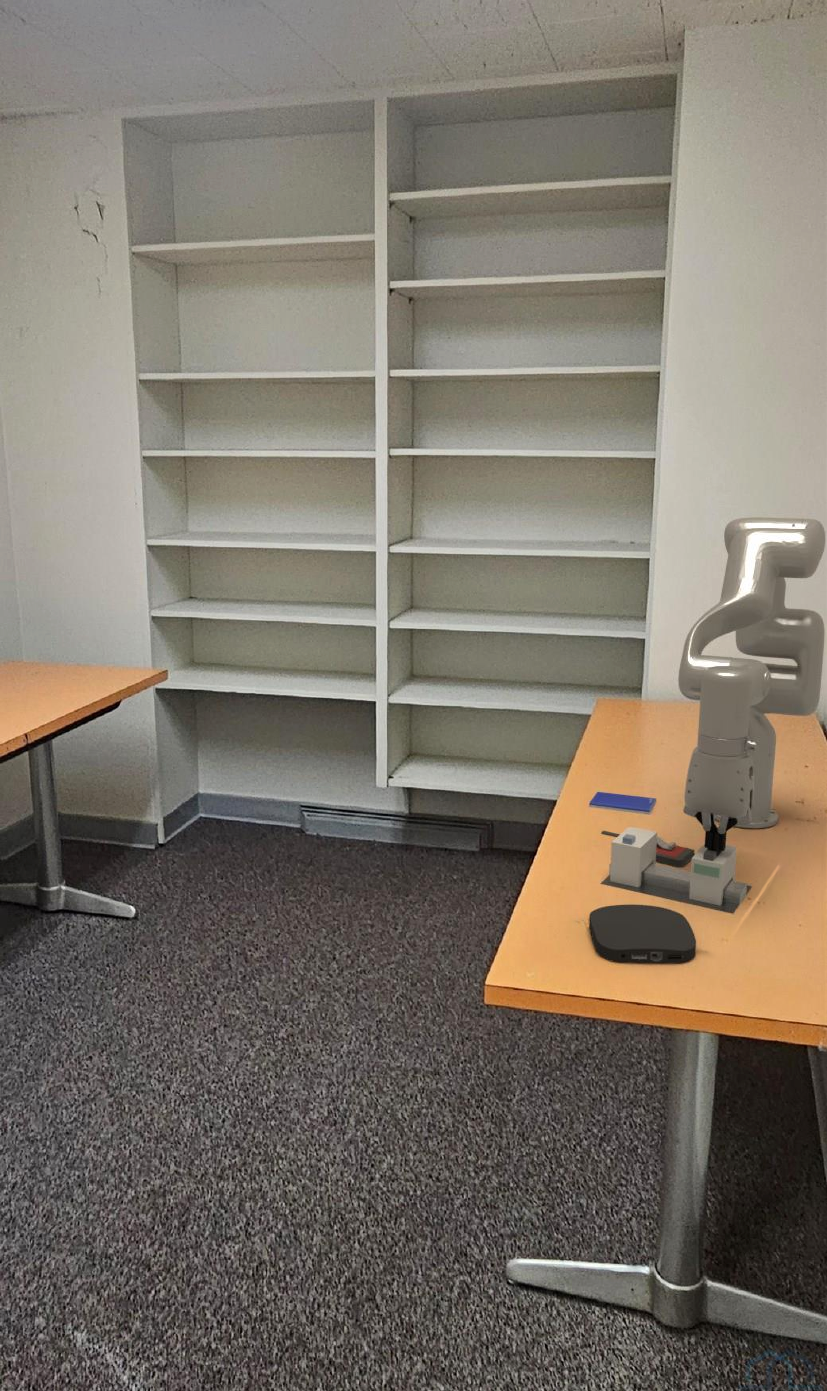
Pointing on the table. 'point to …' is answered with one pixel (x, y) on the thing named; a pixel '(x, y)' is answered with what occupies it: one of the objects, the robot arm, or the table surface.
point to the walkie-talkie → (667, 852)
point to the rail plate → (674, 895)
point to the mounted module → (632, 855)
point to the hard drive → (623, 803)
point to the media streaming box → (641, 934)
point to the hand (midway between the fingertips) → (714, 853)
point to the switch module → (711, 874)
